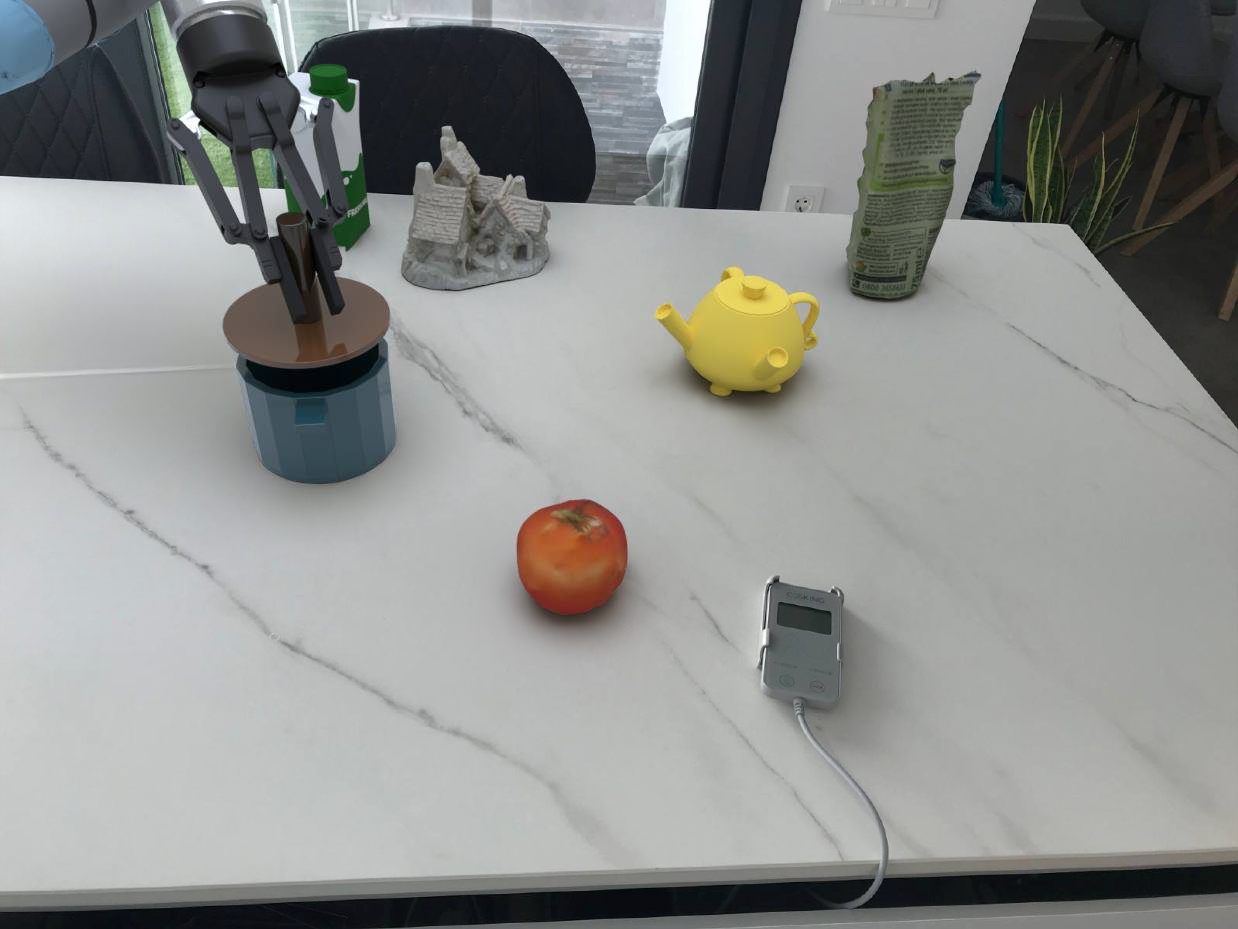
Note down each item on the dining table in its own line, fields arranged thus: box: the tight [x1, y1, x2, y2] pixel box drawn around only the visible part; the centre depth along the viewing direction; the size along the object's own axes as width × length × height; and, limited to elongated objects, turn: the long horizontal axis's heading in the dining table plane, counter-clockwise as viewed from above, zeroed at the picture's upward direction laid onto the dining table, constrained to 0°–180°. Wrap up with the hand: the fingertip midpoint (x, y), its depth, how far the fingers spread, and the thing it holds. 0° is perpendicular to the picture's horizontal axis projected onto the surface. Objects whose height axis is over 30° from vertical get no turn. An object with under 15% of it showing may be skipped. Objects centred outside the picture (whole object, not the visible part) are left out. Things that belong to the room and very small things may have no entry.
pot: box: [235, 337, 397, 484], centre depth 88 cm, size 13×18×10 cm
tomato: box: [516, 498, 629, 616], centre depth 77 cm, size 9×9×8 cm
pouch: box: [845, 69, 983, 300], centre depth 113 cm, size 11×12×25 cm
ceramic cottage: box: [400, 125, 552, 291], centre depth 113 cm, size 16×16×15 cm
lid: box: [221, 211, 392, 369], centre depth 80 cm, size 14×14×10 cm
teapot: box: [654, 266, 820, 397], centre depth 100 cm, size 14×14×11 cm
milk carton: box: [281, 63, 371, 251], centre depth 114 cm, size 9×9×20 cm
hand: (319, 314), depth 78 cm, fingers closed on lid, 2 cm apart
